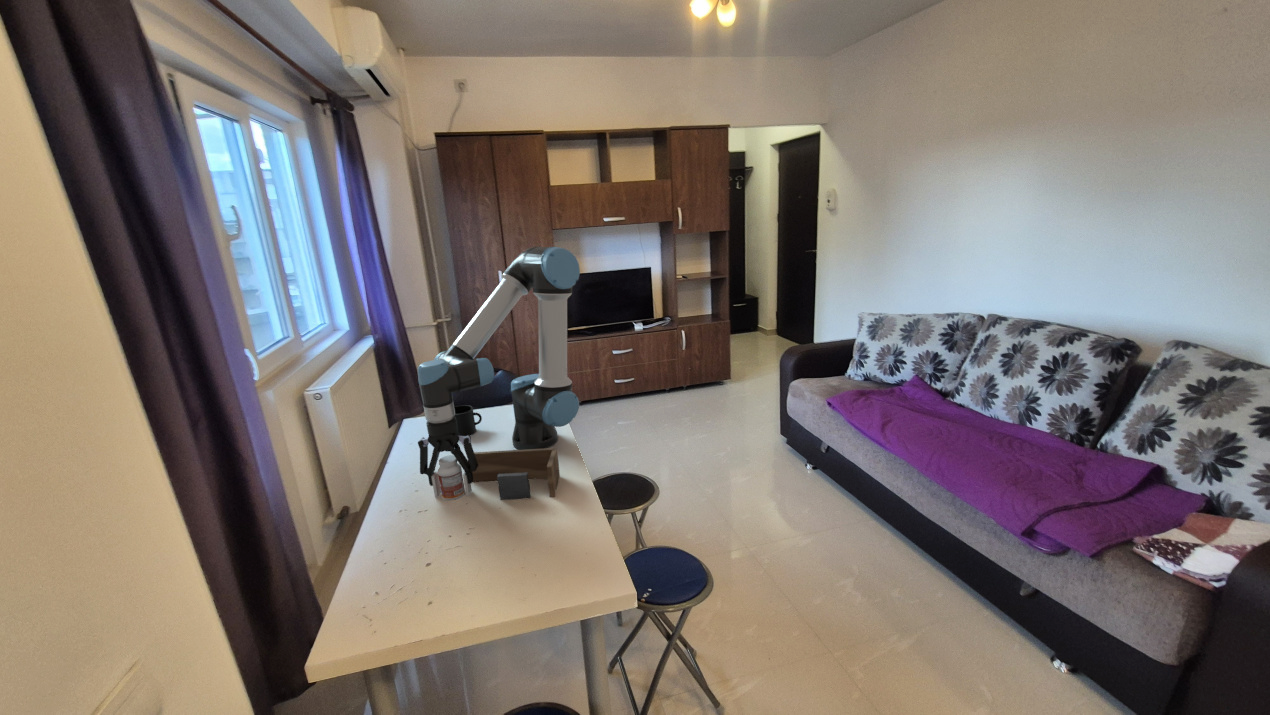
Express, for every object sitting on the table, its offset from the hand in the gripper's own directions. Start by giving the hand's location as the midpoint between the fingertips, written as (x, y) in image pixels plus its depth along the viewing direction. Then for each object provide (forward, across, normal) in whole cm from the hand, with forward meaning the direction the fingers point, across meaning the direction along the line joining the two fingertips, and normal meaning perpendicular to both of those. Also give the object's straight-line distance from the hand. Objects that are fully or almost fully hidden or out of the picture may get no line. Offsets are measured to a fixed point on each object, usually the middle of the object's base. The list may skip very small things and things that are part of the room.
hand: (453, 494), depth 145 cm
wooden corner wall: (0, +16, +2) cm, 16 cm away
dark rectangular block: (0, +18, -3) cm, 18 cm away
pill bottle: (+1, 0, 0) cm, 1 cm away
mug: (+1, -10, +44) cm, 45 cm away
